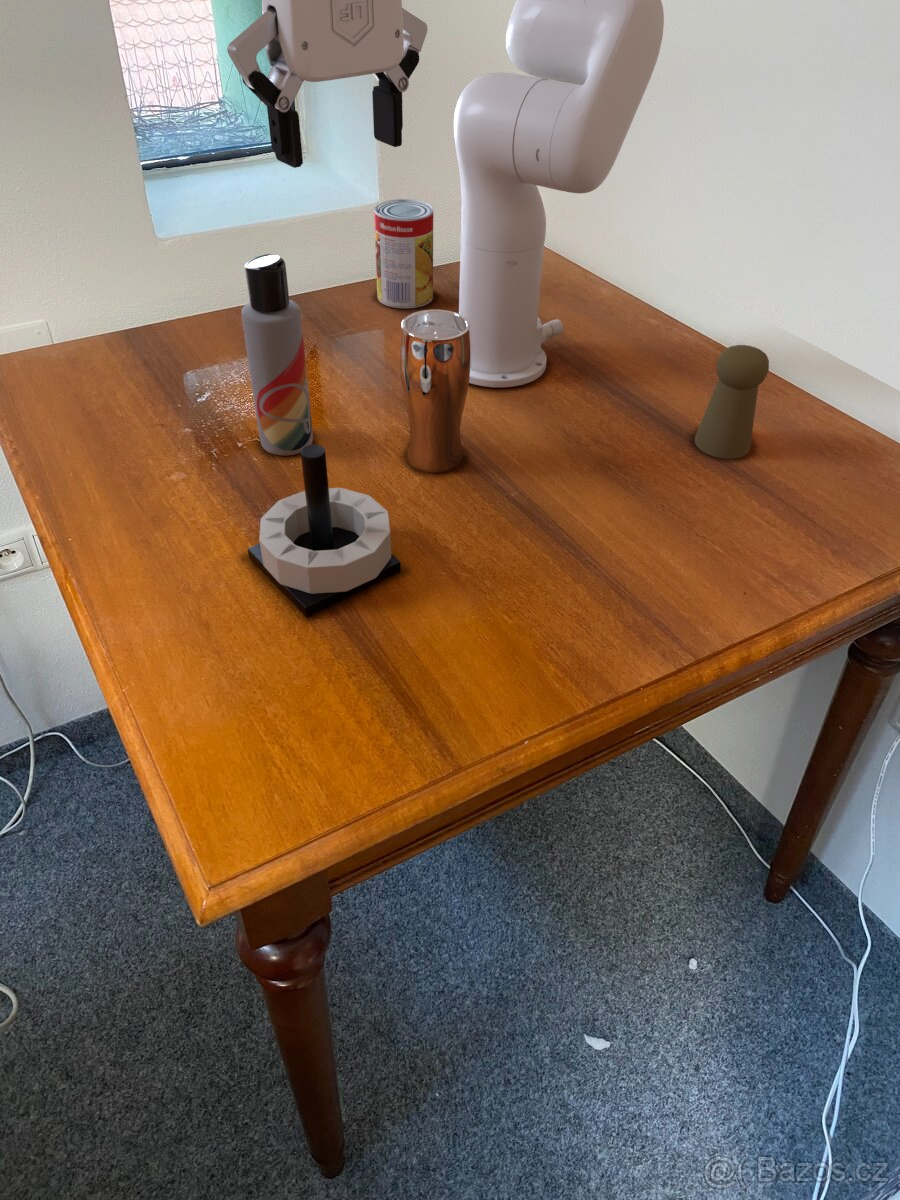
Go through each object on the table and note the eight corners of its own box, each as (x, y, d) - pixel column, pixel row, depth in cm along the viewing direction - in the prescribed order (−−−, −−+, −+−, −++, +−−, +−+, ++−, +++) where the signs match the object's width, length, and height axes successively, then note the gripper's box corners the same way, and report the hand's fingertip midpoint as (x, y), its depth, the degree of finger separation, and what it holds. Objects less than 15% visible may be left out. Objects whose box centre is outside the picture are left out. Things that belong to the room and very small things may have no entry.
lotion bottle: (303, 460, 93) (283, 272, 79) (252, 453, 93) (223, 266, 80) (320, 432, 97) (303, 250, 83) (271, 426, 98) (246, 244, 84)
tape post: (340, 518, 85) (330, 407, 77) (401, 571, 79) (398, 457, 71) (248, 558, 80) (228, 444, 72) (306, 617, 75) (291, 501, 67)
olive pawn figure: (754, 437, 98) (781, 344, 90) (744, 464, 94) (771, 369, 86) (701, 424, 100) (723, 333, 92) (688, 450, 95) (710, 356, 88)
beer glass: (475, 447, 95) (481, 314, 85) (454, 481, 90) (458, 345, 80) (415, 434, 97) (414, 303, 87) (392, 468, 92) (388, 333, 82)
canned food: (435, 287, 127) (436, 200, 118) (429, 310, 121) (430, 220, 113) (381, 284, 127) (378, 197, 119) (373, 307, 121) (369, 217, 113)
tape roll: (347, 500, 85) (345, 474, 83) (414, 560, 79) (414, 534, 77) (241, 542, 80) (237, 516, 78) (304, 611, 74) (300, 584, 72)
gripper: (238, -107, 54) (271, 184, 66) (454, -115, 63) (450, 146, 74) (183, -116, 59) (223, 159, 70) (392, -121, 67) (398, 126, 78)
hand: (340, 152), depth 72 cm, fingers open, 9 cm apart
